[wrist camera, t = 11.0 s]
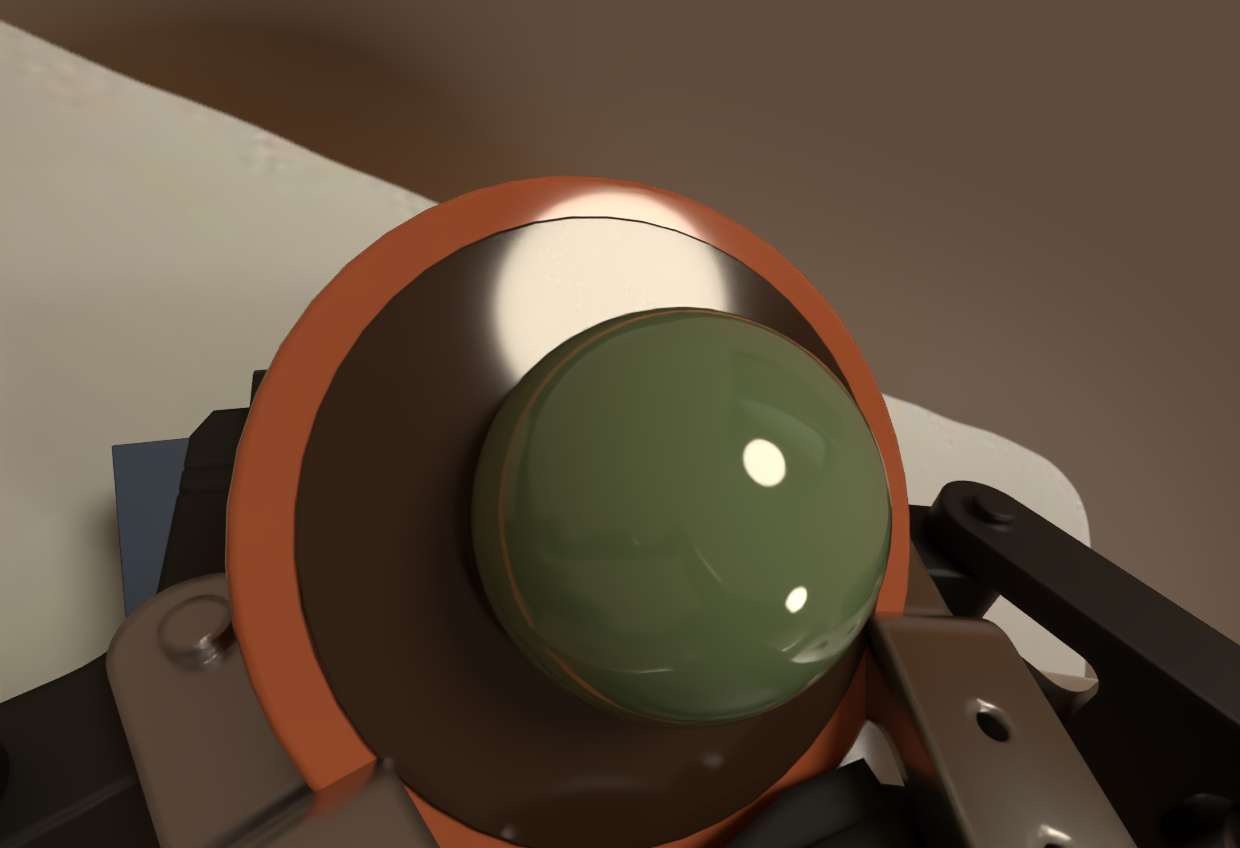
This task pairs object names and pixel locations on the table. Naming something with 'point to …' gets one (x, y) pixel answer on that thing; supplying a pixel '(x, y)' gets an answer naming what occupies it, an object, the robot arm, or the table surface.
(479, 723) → the pot
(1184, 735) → the robot arm
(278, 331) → the table surface
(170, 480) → the dark blue bench
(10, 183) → the table surface
